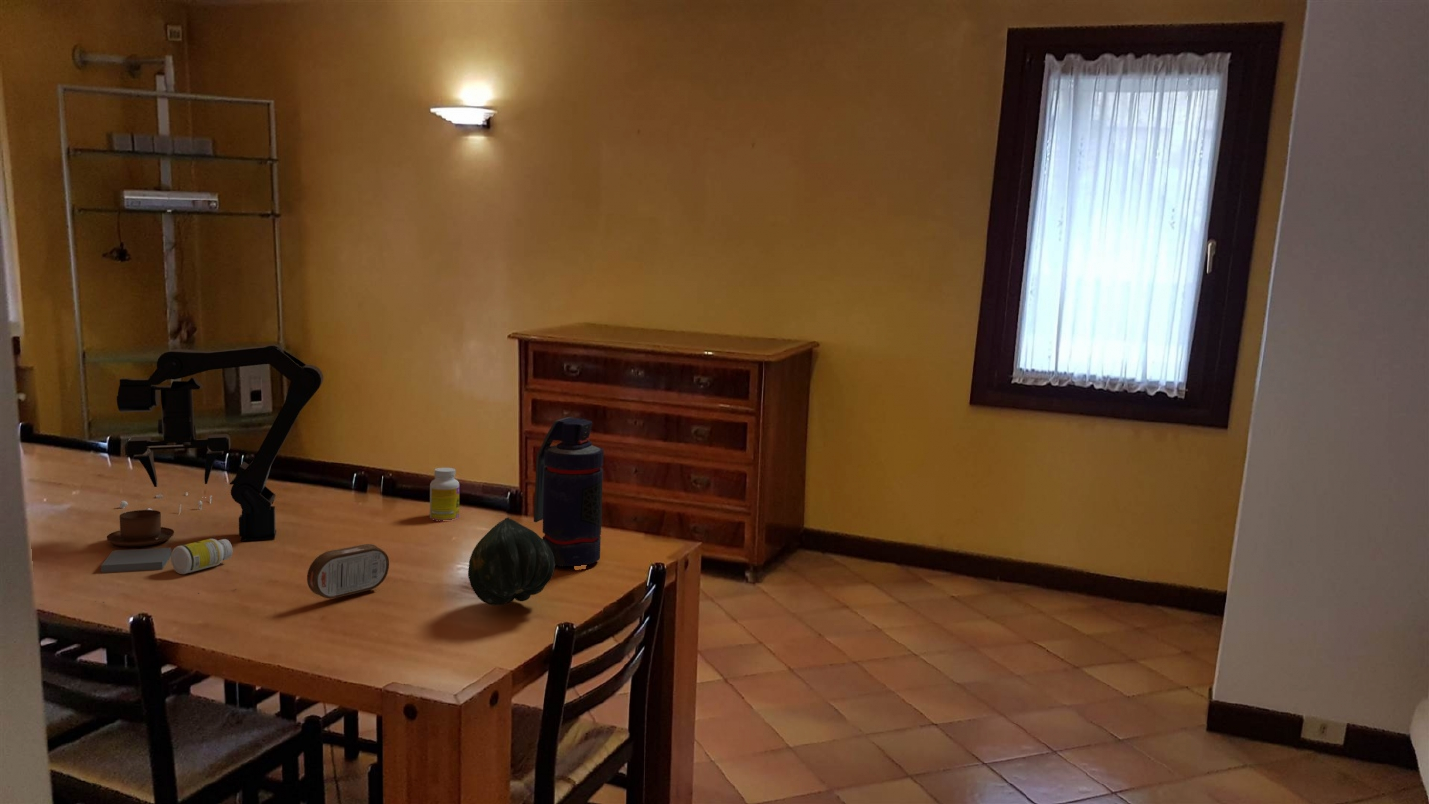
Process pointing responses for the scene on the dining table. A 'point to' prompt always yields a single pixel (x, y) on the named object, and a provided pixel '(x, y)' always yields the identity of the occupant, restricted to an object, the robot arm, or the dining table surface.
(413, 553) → the dining table surface
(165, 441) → the robot arm
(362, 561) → the tin
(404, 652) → the dining table surface
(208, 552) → the supplement bottle
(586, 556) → the grenade
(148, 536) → the cup and saucer
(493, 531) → the squash
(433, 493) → the supplement bottle
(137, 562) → the charcoal block
